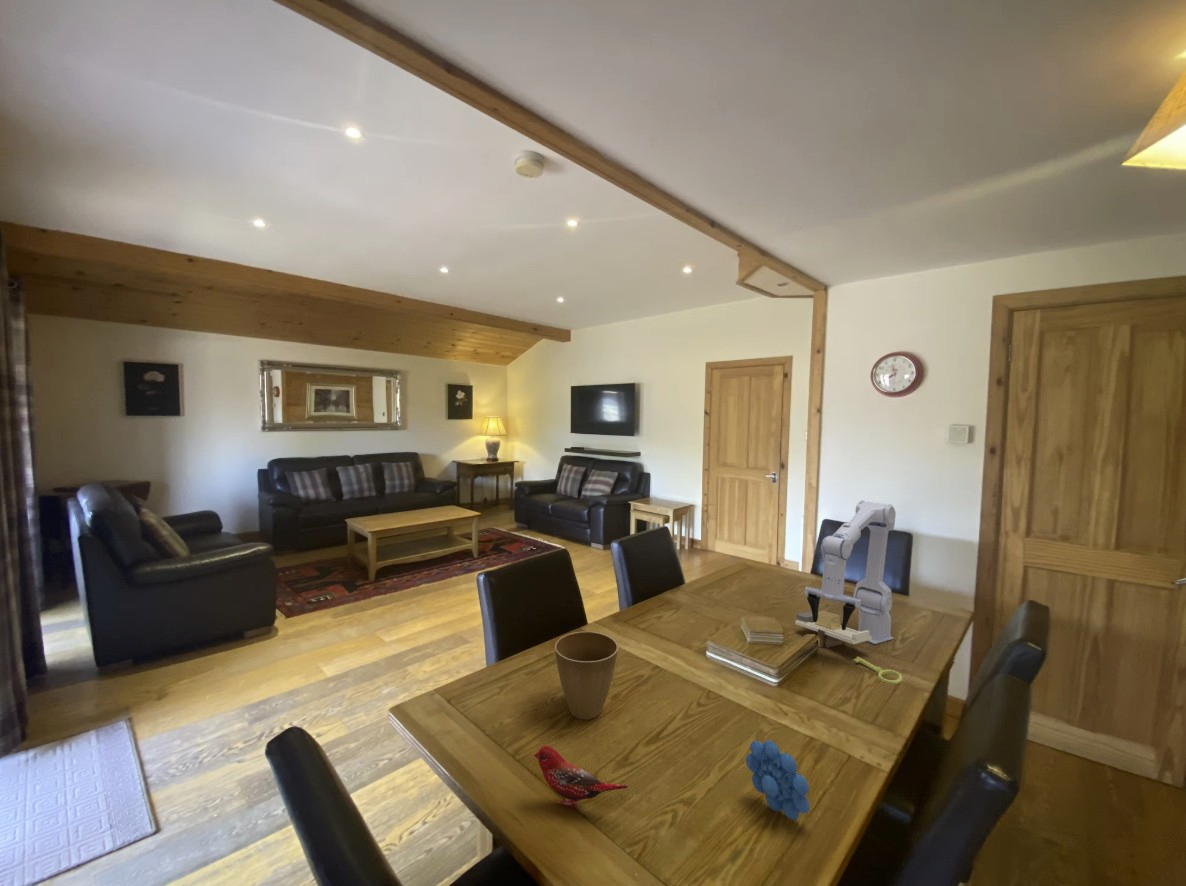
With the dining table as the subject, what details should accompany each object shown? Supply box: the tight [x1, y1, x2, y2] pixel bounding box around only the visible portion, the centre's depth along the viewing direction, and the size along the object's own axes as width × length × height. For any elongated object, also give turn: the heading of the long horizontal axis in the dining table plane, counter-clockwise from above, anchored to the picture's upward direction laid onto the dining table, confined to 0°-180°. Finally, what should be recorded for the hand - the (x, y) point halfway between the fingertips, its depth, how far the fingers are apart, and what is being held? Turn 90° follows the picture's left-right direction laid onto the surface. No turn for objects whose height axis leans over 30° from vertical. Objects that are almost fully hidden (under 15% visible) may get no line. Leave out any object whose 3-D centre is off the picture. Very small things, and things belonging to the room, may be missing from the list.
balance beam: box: [794, 611, 871, 645], centre depth 153 cm, size 21×8×3 cm, turn 25°
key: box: [853, 656, 904, 684], centre depth 135 cm, size 7×12×2 cm, turn 45°
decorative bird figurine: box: [533, 745, 629, 809], centre depth 86 cm, size 3×18×10 cm, turn 73°
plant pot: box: [554, 631, 619, 720], centre depth 115 cm, size 15×15×16 cm
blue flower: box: [745, 740, 810, 821], centre depth 86 cm, size 12×7×12 cm, turn 44°
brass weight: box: [815, 610, 841, 630], centre depth 154 cm, size 6×4×4 cm
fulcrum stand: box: [817, 623, 846, 649], centre depth 153 cm, size 3×10×5 cm, turn 115°
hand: (829, 625), depth 141 cm, fingers open, 7 cm apart
